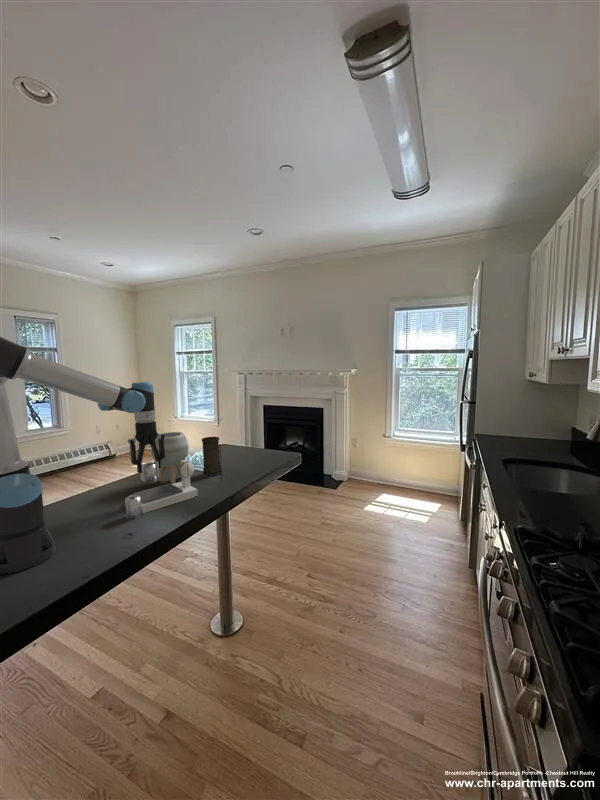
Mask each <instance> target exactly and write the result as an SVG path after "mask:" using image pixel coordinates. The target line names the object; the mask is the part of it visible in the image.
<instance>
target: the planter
mask: <svg viewBox="0 0 600 800" xmlns="http://www.w3.org/2000/svg"><path fill="white" fill-rule="evenodd" d="M160 434H163V435H165V437H164V451H165V458H163V459H162V460H161V468H160V469H159V477H158V481H159V482H163V481H164V479H165V476H166V471H167V468H168V472H169V481H170V482H169V483H170V484H174V483H177V482H176V470H177V472H178V475H179V478H180V479H182V477H181V475H180V474H179V468H180V466H181V461H182V460H186V459H187V456H188V455H189V442H188V439H187V436H186V435H185V434H184V432H181V431H170V432H167V431H166V432H162V433H160ZM155 443H156V447H157V450H158V453H159V443H158V437H157V438H156V439H155ZM150 449H151V450H150V451H151V456H152V458H153V461H155V460H156V459H155V456H154V454H153V451H152V448H151V447H150ZM159 455H160V454H159Z"/></svg>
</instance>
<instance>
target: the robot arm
mask: <svg viewBox="0 0 600 800" xmlns="http://www.w3.org/2000/svg"><path fill="white" fill-rule="evenodd" d="M16 379H21V380H24V381H28V382H31V383H34V384H37V385H40V386H44V387H47V388H50V389H53V390H56V391H59V392H62V393H66V394H68V395H72V396H75V397H78V398H82V399H85V400H88V401H92V402H94V403H97V407H98V409H99V410H100V411H103V412H107V411H108V412H110V411H119V412H125V413H129V414H134V415H133V417H134V422H135V424H134V427H135V435H134V437H133V438H131V439H130V438H129V439H127V442H128V445H129V450H130V462H131V464H132V465H135V466H136V470H137V471H136V472H137V473H138V474H139V476H140V478H139V479H140V481H142V482H144V481H145V473H144V465H143V464H144V463H143V459H144V457H143V456H144V453H145V448H146V446H147V445H150V449H151V448H152V451H153V454H154V456H155V459H156V460H153V462H155V463H156V470H157V479H159V475H160V469H161V460H162V459H163V458H165V451H164V437H165V435H163V434H161V433H158V432H157V421H156V419H157V418H156V409H155V393H154V385H153V383H152V382H150V381H139V382H132V384H131V387H128V388H127V387H123V386H120V385H118V384H115V383H112V382H110V381H107V380H105V379H102V378H98V377H96V376H93V375H90V374H88V373H85V372H83V371H81V370H77V369H75V368H71V367H69V366H67V365H64V364H60V363H59V362H56V361H53V360H50V359H47V358H46V357H41V356H38V355H37V354H33V353H31V352H30V350H29V348H28V347H26V346H23V345H20V344H18V343H16V342H13V341H11V340H8V339H6V338H4V337H2V336H0V575H7V574H6V573H8V574H13V572H14V573H17V571H18V572H21V571H24V570H27V568H28V569H30V568H33V567H34V566H35V567H36V566H37V565H39V564H41V563H43V562H45V561H47V560H48V559H49V558H51V557H52V556H53V555H54V554H55V552H56V542H55V540H54V537H52V535H51V533H50V531H49V530H48V528H47V526H46V521H45V519H46V518H45V517H46V516H45V511H44V509H45V508H44V501H43V500H44V499H43V492H42V491H43V485H42V483H41V479H40V477H38V476H37V475H36V474H32V473H31V471H30V466H29V462H27V461H26V460H23V459H22V458H21V454H20V449H19V443H18V438H17V435H16V429H15V424H14V419H13V415H12V410H11V407H10V401H9V396H8V393H7V391H8V390H7V387H6V382H8V381H9V380H16ZM157 437H158V443H159V453H158V450H157V447H156V443H155V439H156V438H157ZM137 442H138V451H137V450H136V446H137V445H136V444H137ZM159 454H160V455H159Z"/></svg>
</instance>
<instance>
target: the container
mask: <svg viewBox="0 0 600 800" xmlns="http://www.w3.org/2000/svg"><path fill="white" fill-rule="evenodd" d="M219 440H220V438H219V437H218V436H207V437H202V438H201V442H202V453H203V454H202V456H203V469H202V471H203V472H202V474H204V475H203V476H205V475H206V476H205V477H213V476H212V475H217V474H219V475H221V474H222V466H221V461H220V445H219ZM220 473H221V474H220ZM217 476H218V475H217Z"/></svg>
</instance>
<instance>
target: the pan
mask: <svg viewBox="0 0 600 800" xmlns="http://www.w3.org/2000/svg"><path fill="white" fill-rule="evenodd" d="M182 492H183V490H181V489H179V488H178V487H176V486H174V485H172V484H171V482H169V483H165V484H163V485H159V486H155V487H151V488H148V489H144V490H140V491H136V492H133V493H132V495H140V497H141V501H142V502H143V503H144V504H145V503H148V502H151V501H155V500H158V499H162V498H165V497H168V496H172V495H175V494H178V493H182Z"/></svg>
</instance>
